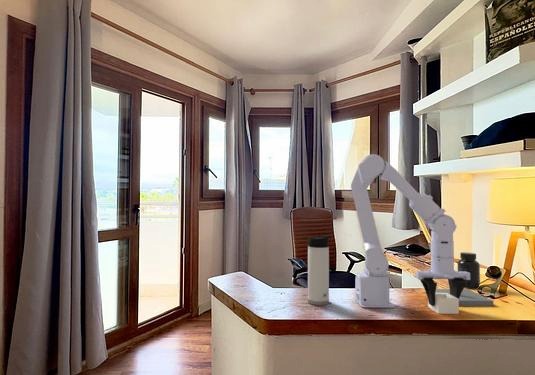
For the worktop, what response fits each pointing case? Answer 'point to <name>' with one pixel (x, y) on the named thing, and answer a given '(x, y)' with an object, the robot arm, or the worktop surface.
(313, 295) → the travel mug
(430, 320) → the worktop surface
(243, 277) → the worktop surface
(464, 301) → the shaft board
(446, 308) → the collar
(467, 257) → the supplement bottle
